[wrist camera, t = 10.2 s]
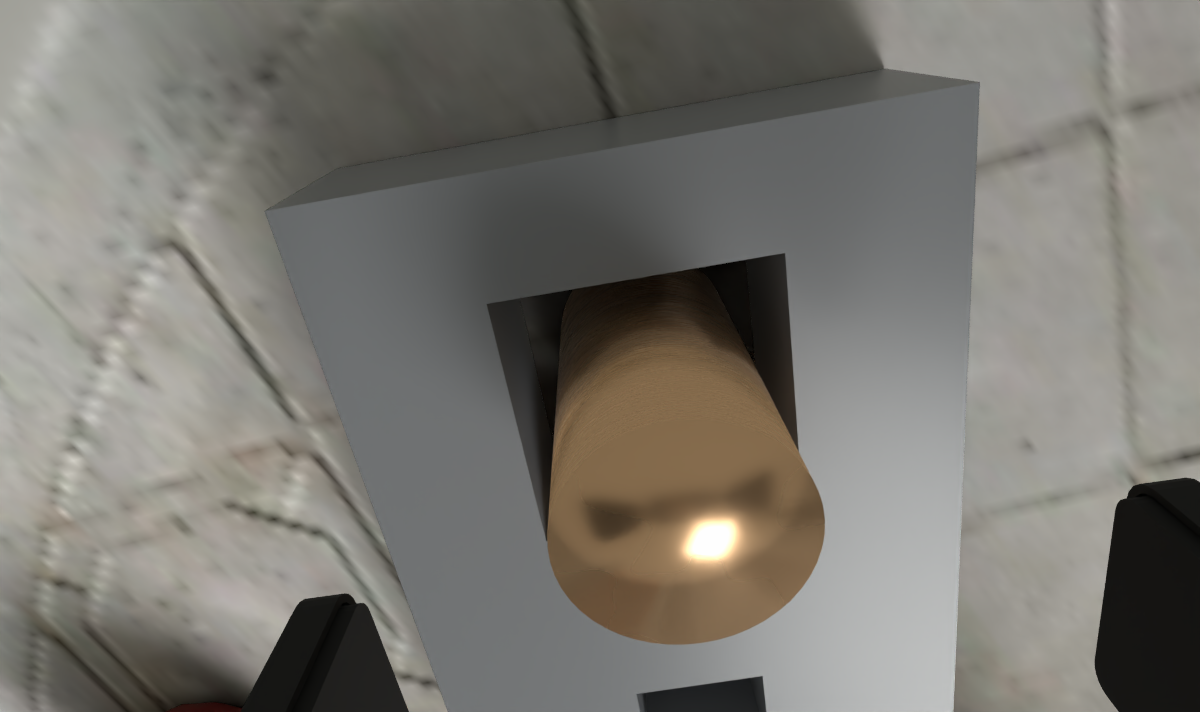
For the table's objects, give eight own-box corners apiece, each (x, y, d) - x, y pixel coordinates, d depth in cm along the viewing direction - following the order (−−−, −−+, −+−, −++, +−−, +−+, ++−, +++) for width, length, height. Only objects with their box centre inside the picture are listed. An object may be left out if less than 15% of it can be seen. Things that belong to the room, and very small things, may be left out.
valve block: (885, 68, 15) (979, 81, 12) (890, 677, 23) (949, 801, 19) (336, 168, 16) (265, 211, 12) (514, 730, 23) (502, 860, 20)
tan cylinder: (716, 236, 17) (819, 397, 10) (732, 388, 19) (830, 624, 11) (546, 266, 17) (520, 446, 10) (577, 413, 19) (575, 661, 11)
